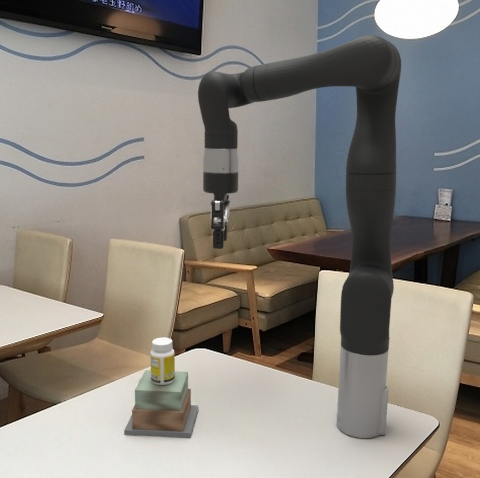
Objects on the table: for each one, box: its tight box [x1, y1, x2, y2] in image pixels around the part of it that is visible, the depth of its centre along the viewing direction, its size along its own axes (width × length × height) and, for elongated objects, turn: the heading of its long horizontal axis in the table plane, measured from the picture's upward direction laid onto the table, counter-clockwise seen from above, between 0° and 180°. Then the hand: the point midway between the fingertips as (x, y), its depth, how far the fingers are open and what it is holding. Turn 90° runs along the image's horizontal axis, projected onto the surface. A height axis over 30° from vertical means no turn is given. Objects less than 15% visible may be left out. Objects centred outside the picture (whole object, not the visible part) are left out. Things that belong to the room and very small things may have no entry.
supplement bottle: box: [149, 337, 176, 385], centre depth 108 cm, size 5×5×8 cm
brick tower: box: [131, 369, 192, 431], centre depth 110 cm, size 10×10×8 cm
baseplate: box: [123, 404, 199, 439], centre depth 111 cm, size 13×11×1 cm
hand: (220, 244), depth 119 cm, fingers open, 8 cm apart
